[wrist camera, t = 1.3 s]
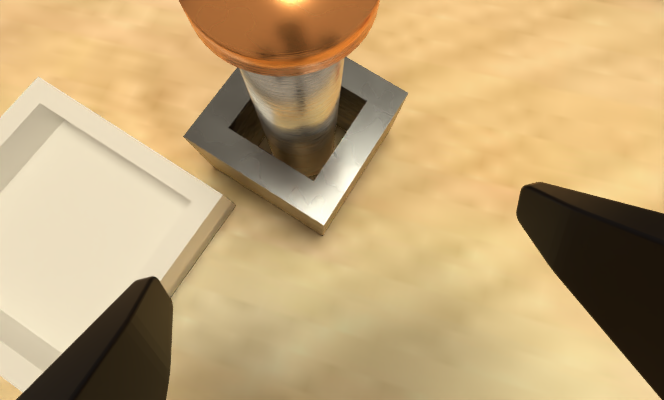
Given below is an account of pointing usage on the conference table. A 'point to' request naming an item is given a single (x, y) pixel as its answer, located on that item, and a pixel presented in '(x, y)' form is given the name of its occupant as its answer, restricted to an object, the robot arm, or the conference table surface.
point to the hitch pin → (288, 64)
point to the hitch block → (277, 177)
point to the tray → (84, 224)
